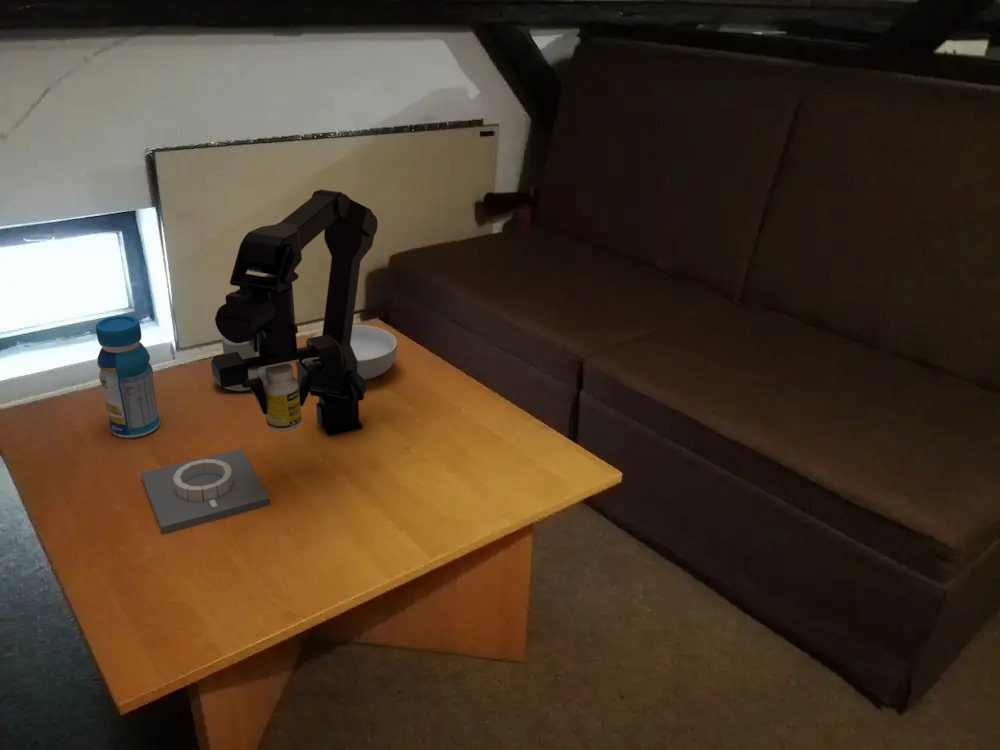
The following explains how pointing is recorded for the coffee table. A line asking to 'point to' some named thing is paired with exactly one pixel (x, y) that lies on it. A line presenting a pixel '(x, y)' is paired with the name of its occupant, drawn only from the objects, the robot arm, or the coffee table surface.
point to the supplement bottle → (282, 398)
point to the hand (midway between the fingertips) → (282, 409)
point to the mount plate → (204, 490)
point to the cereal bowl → (372, 350)
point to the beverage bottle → (126, 377)
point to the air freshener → (244, 352)
